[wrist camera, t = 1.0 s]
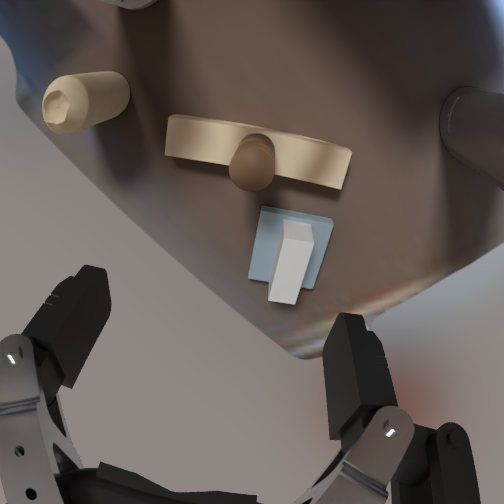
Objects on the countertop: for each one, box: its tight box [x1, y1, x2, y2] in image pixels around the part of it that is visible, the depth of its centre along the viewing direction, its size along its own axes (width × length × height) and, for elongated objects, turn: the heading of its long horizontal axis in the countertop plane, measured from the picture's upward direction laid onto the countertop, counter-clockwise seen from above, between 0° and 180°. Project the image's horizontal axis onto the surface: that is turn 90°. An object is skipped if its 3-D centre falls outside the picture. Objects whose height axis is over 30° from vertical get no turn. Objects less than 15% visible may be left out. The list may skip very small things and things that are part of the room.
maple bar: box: [165, 114, 352, 192], centre depth 27 cm, size 18×4×9 cm, turn 80°
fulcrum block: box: [248, 205, 334, 305], centre depth 34 cm, size 8×9×6 cm
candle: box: [42, 71, 130, 135], centre depth 24 cm, size 6×6×10 cm
